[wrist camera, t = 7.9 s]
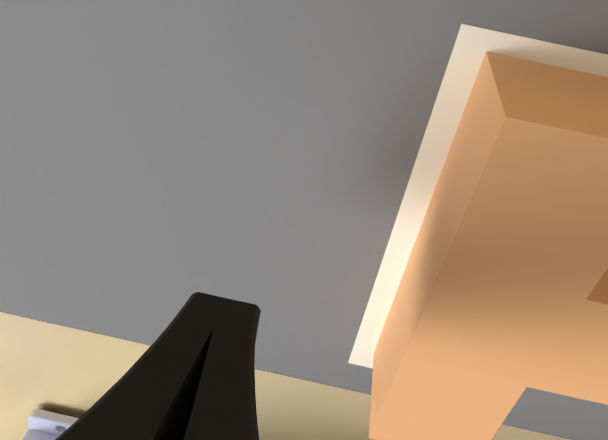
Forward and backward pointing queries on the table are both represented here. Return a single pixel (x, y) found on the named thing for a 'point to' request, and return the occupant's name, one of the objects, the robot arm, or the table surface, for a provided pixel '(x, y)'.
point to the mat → (250, 163)
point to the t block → (504, 262)
